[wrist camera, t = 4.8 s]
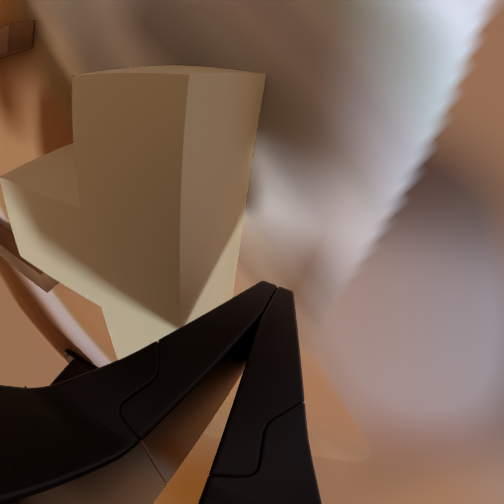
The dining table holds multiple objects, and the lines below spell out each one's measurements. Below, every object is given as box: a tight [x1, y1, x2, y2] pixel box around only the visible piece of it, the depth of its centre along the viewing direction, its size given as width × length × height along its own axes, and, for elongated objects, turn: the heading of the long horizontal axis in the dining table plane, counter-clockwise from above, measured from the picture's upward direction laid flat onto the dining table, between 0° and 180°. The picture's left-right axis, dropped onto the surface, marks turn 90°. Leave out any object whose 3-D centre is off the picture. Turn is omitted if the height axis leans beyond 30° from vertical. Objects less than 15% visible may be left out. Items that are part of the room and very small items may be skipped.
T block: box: [0, 65, 266, 360], centre depth 9 cm, size 10×8×4 cm
